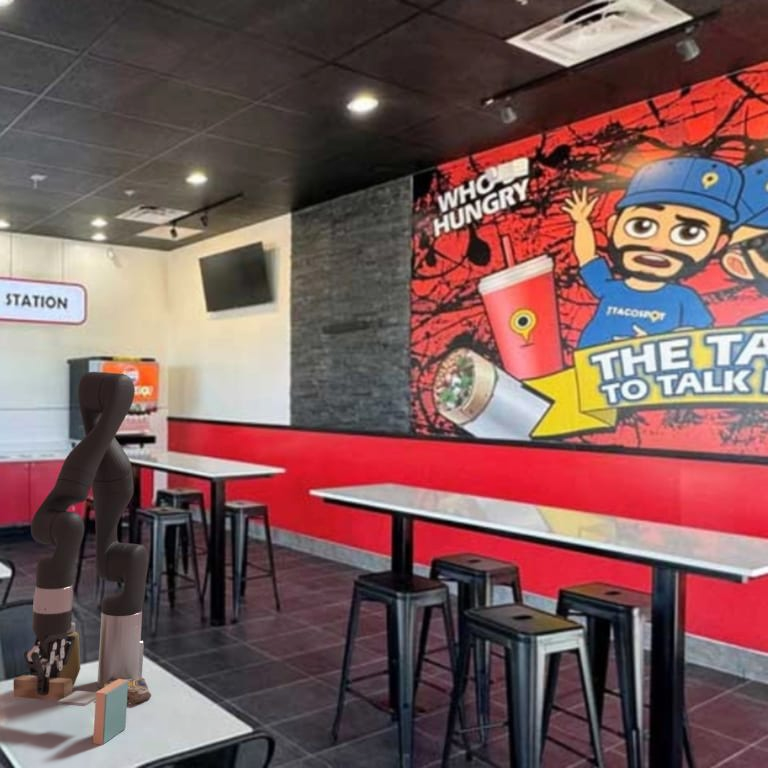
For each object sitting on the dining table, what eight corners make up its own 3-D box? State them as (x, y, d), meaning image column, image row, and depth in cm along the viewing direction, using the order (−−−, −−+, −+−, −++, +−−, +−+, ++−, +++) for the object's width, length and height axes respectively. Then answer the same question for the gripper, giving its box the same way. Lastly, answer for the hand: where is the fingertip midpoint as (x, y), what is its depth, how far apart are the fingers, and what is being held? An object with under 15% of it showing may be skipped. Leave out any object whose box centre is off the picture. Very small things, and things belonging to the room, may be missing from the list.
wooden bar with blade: (7, 699, 158) (7, 682, 158) (27, 689, 164) (27, 672, 164) (84, 706, 154) (84, 688, 154) (102, 695, 159) (102, 678, 160)
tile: (93, 743, 152) (96, 692, 152) (116, 727, 160) (118, 678, 160) (103, 745, 151) (106, 693, 152) (125, 729, 159) (128, 680, 159)
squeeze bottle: (43, 681, 183) (47, 604, 184) (79, 678, 186) (84, 603, 187) (41, 693, 176) (45, 613, 176) (79, 690, 179) (83, 612, 179)
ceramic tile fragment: (93, 687, 173) (113, 672, 183) (92, 702, 173) (112, 686, 182) (145, 693, 171) (162, 677, 181) (144, 708, 171) (161, 691, 181)
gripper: (46, 617, 152) (41, 706, 151) (89, 601, 166) (84, 682, 165) (13, 613, 154) (8, 701, 153) (59, 597, 167) (54, 678, 167)
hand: (48, 691), depth 159 cm, fingers closed on wooden bar with blade, 2 cm apart
